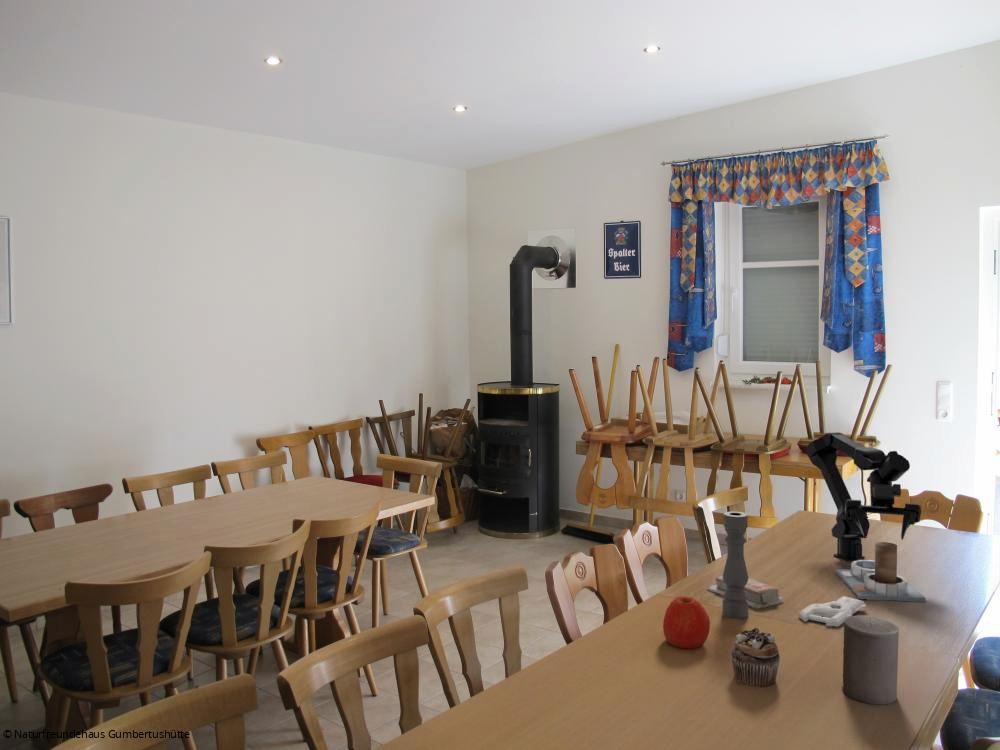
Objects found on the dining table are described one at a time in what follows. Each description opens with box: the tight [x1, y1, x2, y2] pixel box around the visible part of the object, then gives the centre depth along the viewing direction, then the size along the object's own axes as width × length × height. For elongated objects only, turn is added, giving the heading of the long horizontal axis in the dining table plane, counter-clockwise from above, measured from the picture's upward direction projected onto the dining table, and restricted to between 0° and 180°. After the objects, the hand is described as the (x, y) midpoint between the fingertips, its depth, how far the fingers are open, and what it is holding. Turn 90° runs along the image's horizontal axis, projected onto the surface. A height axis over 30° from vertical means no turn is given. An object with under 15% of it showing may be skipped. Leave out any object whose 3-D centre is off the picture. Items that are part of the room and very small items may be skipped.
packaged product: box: [706, 573, 784, 610], centre depth 212 cm, size 18×5×10 cm
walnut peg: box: [874, 541, 898, 584], centre depth 212 cm, size 5×5×12 cm
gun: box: [798, 595, 867, 628], centre depth 197 cm, size 18×4×10 cm
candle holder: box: [722, 511, 749, 620], centre depth 198 cm, size 6×6×25 cm
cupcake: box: [729, 627, 781, 688], centre depth 163 cm, size 10×10×10 cm
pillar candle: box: [841, 614, 900, 705], centre depth 155 cm, size 10×10×15 cm
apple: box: [662, 596, 711, 649], centre depth 181 cm, size 10×10×10 cm
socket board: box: [835, 559, 927, 603], centre depth 218 cm, size 23×16×4 cm
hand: (883, 537), depth 218 cm, fingers open, 9 cm apart
